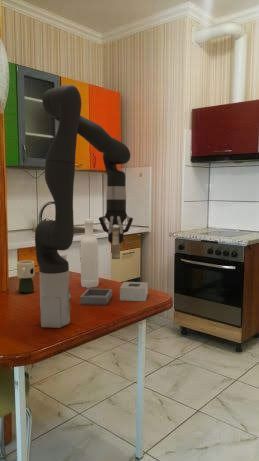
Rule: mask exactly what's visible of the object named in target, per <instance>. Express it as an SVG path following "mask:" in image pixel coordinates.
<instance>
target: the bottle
mask: <svg viewBox="0 0 259 461" xmlns="http://www.w3.org/2000/svg"><path fill="white" fill-rule="evenodd" d="M79 246H80V285H81V287H82V288H85V287H86V288H85V289H93V288H97V287H99V282H100V280H99V279H100V278H99V242H98V239H97V237H96V236H95V235H94V219H92V218H86V219H84V235H83V236H82V238H81V240H80V244H79ZM92 287H93V288H92Z"/></svg>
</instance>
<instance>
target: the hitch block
mask: <svg viewBox="0 0 259 461" xmlns="http://www.w3.org/2000/svg"><path fill="white" fill-rule="evenodd" d="M148 286H149V285H148V281H147V282H143V281H122V284H121V285H120V287H119V301H122V302H123V301H124V302H127V301H128V302H146V301H147V298H148V295H149V294H148V292H149V290H148V289H149V287H148Z"/></svg>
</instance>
